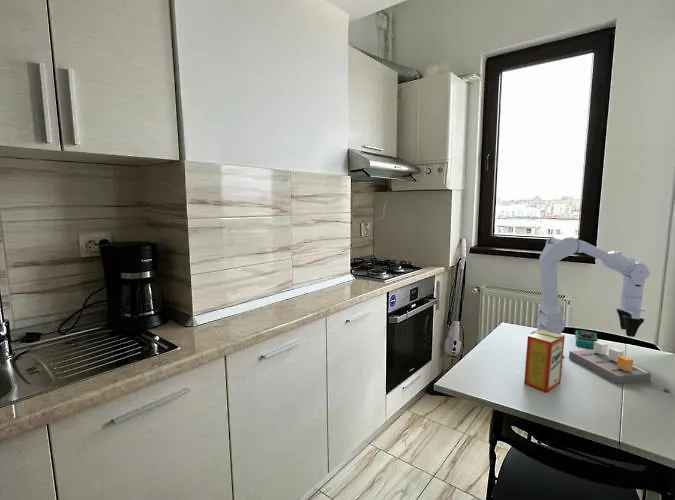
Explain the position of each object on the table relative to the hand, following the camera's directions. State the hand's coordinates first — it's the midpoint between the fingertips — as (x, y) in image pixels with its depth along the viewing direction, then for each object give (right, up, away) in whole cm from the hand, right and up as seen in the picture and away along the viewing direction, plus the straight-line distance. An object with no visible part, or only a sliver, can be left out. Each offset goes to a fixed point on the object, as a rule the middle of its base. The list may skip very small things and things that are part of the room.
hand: (627, 332), depth 128 cm
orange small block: (-11, -9, -13) cm, 19 cm away
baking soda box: (-40, -12, -17) cm, 45 cm away
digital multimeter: (-3, -8, +17) cm, 19 cm away
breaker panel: (-12, -11, -7) cm, 18 cm away
